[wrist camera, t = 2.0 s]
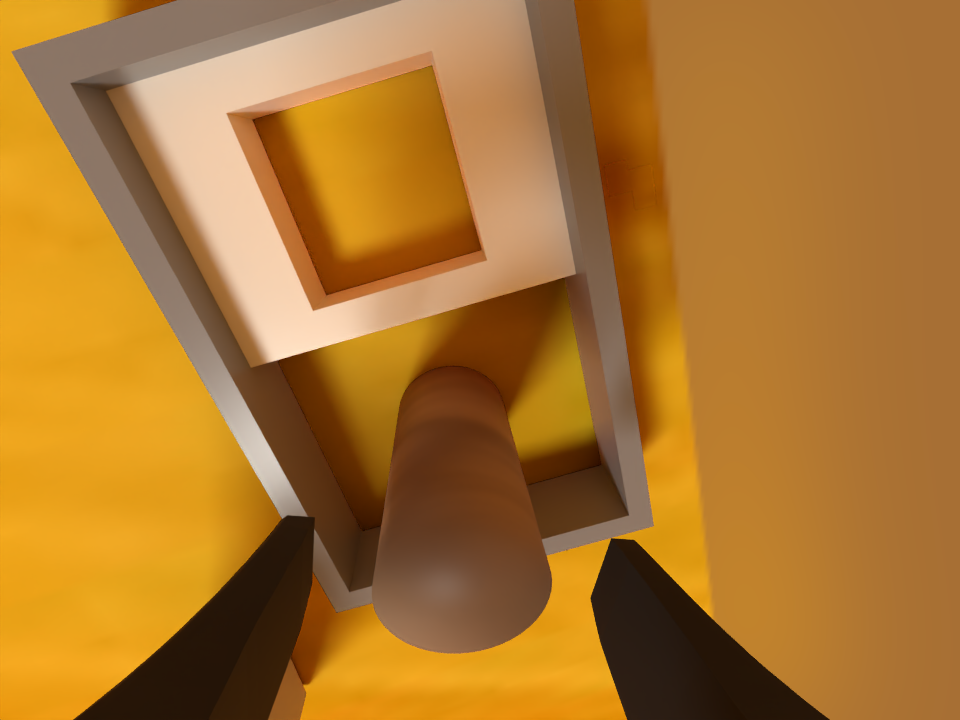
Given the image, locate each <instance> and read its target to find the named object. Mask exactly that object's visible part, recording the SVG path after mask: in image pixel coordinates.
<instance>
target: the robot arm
mask: <svg viewBox="0 0 960 720" xmlns="http://www.w3.org/2000/svg"><path fill="white" fill-rule="evenodd" d="M314 527H315V517H306V516H292V515H287V516H286V517H284V518H283V519H282V520H281V521H280V522H279V523H278V525H277V526H276V527H275V529H274V530H273V531H272V532H271V533H270V535H269V536H268V537H267V538H266V540H265V541H264V542H263V543H262V544H261V545H260V547H259V548H258V549H257V550H256V551H255V552H254V554H253V555H252V556H251V557H250V558H249V559H248V560H247V561H246V563H245V564H244V565H243V566H242V567H241V568H240V569H239V570H238V571H237V572H236V573H235V574H234V576H233V577H232V578H231V579H230V580H229V581H228V582H227V583H226V584H225V585H224V586H223V587H222V588H221V589H220V591H219V592H218V593H217V594H216V595H215V596H214V597H213V598H212V599H211V600H210V601H209V602H208V603H207V604H206V605H205V606H204V607H203V608H201V609H200V610H199V611H198V612H197V613H196V614H195V615H194V616H193V617H192V618H191V619H190V620H189V621H188V622H187V623H186V624H185V625H184V626H183V627H182V628H181V629H180V630H179V631H178V632H177V633H176V634H175V635H174V636H172V637H171V638H170V639H169V640H168V641H167V642H166V643H165V644H164V645H163V646H162V647H160V648H159V649H158V650H157V651H156V652H155V653H154V654H153V655H151V656H150V657H149V658H148V659H147V660H146V661H144V662H143V663H142V664H141V665H140V666H139V667H138V668H136V669H135V670H134V671H133V672H132V673H131V674H129V675H128V676H127V677H126V678H125V679H123V680H122V681H121V682H120V683H119V684H117V685H116V686H115V687H114V688H112V689H111V690H110V691H109V692H107V693H106V694H105V695H104V696H102V697H101V698H100V699H99V700H98V701H96V702H95V703H94V704H93V705H91V706H90V707H89V708H88V709H86V710H85V711H84V712H83V713H81V714H80V715H79V716H77V717H76V718H75V719H74V720H268V718H269V716H270V713H271V710H272V707H273V705H274V702H275V699H276V696H277V694H278V691H279V688H280V685H281V683H282V680H283V677H284V674H285V672H286V669H287V666H288V663H289V660H290V658H291V655H292V652H293V649H294V646H295V644H296V641H297V638H298V635H299V632H300V629H301V625H302V622H303V618H304V614H305V610H306V606H307V602H308V598H309V594H310V590H311V586H312V573H313V550H314ZM591 602H592V607H593V612H594V617H595V622H596V626H597V630H598V634H599V638H600V642H601V645H602V648H603V651H604V654H605V657H606V660H607V663H608V666H609V669H610V672H611V675H612V678H613V680H614V683H615V686H616V689H617V692H618V695H619V697H620V700H621V703H622V706H623V709H624V712H625V714H626V717H627V720H829V719H828V718H827V717H825V716H824V715H823V714H821V713H820V712H819V711H818V710H816V709H815V708H814V707H813V706H811V705H810V704H809V703H807V702H806V701H805V700H804V699H802V698H801V697H800V696H799V695H797V694H796V693H795V692H794V691H793V690H791V689H790V688H789V687H788V686H786V685H785V684H784V683H783V682H782V681H781V680H779V679H778V678H777V677H776V676H774V675H773V674H772V673H771V672H770V671H768V670H767V669H766V668H765V667H763V666H762V664H760V663H759V662H758V661H757V660H756V659H755V658H754V657H752V656H751V655H750V654H749V653H748V652H747V651H746V650H745V649H744V648H743V647H742V646H740V645H739V644H738V643H737V642H736V641H735V640H734V639H733V638H732V637H731V636H729V635H728V634H727V633H726V632H725V631H724V630H723V629H722V628H721V627H720V626H719V625H718V624H717V623H716V622H715V621H714V620H713V619H712V618H711V617H710V616H709V615H708V614H707V613H706V612H705V611H704V610H703V609H702V608H701V607H700V606H699V605H698V604H697V603H696V602H695V601H694V600H693V599H692V598H691V597H690V596H689V595H688V594H687V593H686V592H685V591H684V590H683V589H682V588H681V587H680V586H679V585H678V584H677V583H676V582H675V581H674V580H673V579H672V578H671V577H670V576H669V575H668V574H667V573H666V572H665V571H664V570H663V568H662V567H661V566H660V565H659V564H658V563H657V562H656V561H655V560H654V559H653V558H652V557H651V556H650V555H649V554H648V553H647V552H646V551H645V550H644V549H643V548H642V547H641V546H640V545H639V544H638V543H637V542H636V541H635V540H627V539H613V538H611V541H610V544H609V547H608V549H607V552H606V555H605V558H604V561H603V564H602V567H601V569H600V572H599V575H598V578H597V581H596V584H595V587H594V589H593V592H592V595H591Z"/></svg>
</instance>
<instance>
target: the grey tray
mask: <svg viewBox="0 0 960 720" xmlns="http://www.w3.org/2000/svg"><path fill="white" fill-rule="evenodd" d="M12 53H13V55H14V57H15V59H16V60H17V62H18V64H19V65H20V67H21V69H22V71H23V72H24V74H25V76H26V77H27V79H28V81H29V83H30V84H31V86H32V88H33V90H34V91H35V93H36V95H37V96H38V98H39V100H40V102H41V103H42V105H43V107H44V109H45V110H46V112H47V114H48V115H49V117H50V119H51V121H52V122H53V124H54V126H55V128H56V129H57V131H58V133H59V134H60V136H61V138H62V140H63V141H64V143H65V145H66V147H67V148H68V150H69V152H70V153H71V155H72V157H73V159H74V160H75V162H76V164H77V166H78V167H79V169H80V171H81V172H82V174H83V176H84V178H85V179H86V181H87V183H88V185H89V186H90V188H91V190H92V191H93V193H94V195H95V197H96V198H97V200H98V202H99V203H100V205H101V207H102V209H103V210H104V212H105V214H106V216H107V217H108V219H109V221H110V222H111V224H112V226H113V228H114V229H115V231H116V233H117V235H118V236H119V238H120V240H121V241H122V243H123V245H124V247H125V248H126V250H127V252H128V254H129V255H130V257H131V259H132V260H133V262H134V264H135V266H136V267H137V269H138V271H139V273H140V274H141V276H142V278H143V279H144V281H145V283H146V285H147V286H148V288H149V290H150V292H151V293H152V295H153V297H154V298H155V300H156V302H157V304H158V305H159V307H160V309H161V310H162V312H163V314H164V316H165V317H166V319H167V321H168V323H169V324H170V326H171V328H172V329H173V331H174V333H175V335H176V336H177V338H178V340H179V342H180V343H181V345H182V347H183V348H184V350H185V352H186V354H187V355H188V357H189V359H190V361H191V362H192V364H193V366H194V367H195V369H196V371H197V373H198V374H199V376H200V378H201V380H202V381H203V383H204V385H205V386H206V388H207V390H208V392H209V393H210V395H211V397H212V399H213V400H214V402H215V404H216V405H217V407H218V409H219V411H220V412H221V414H222V416H223V418H224V419H225V421H226V423H227V424H228V426H229V428H230V430H231V431H232V433H233V435H234V436H235V438H236V440H237V442H238V443H239V445H240V447H241V449H242V450H243V452H244V454H245V455H246V457H247V459H248V461H249V462H250V464H251V466H252V468H253V469H254V471H255V473H256V474H257V476H258V478H259V480H260V481H261V483H262V485H263V487H264V488H265V490H266V492H267V493H268V495H269V497H270V499H271V500H272V502H273V504H274V506H275V507H276V509H277V511H278V512H279V514H280V516H281V518H282V519H283V518H284V517H286V516H287V515H292V516H306V517H315V527H314V550H313V573H314V575H315V576H316V578H317V580H318V581H319V583H320V585H321V587H322V588H323V590H324V592H325V594H326V595H327V597H328V599H329V600H330V602H331V604H332V606H333V607H334V609H335V611H336V613H338V612H341V611H345V610H349V609H352V608H356V607H360V606H363V605H367V604H371V603H373V602H372V584H373V577H374V570H375V564H376V557H377V551H378V544H379V538H380V531H381V526H380V527H376V528H373V529H369V530H365V531H361V529H360V527H359V525H358V523H357V521H356V519H355V517H354V515H353V513H352V511H351V509H350V507H349V505H348V503H347V501H346V499H345V497H344V495H343V493H342V491H341V489H340V487H339V485H338V483H337V481H336V479H335V477H334V475H333V473H332V471H331V469H330V467H329V465H328V463H327V461H326V458H325V456H324V454H323V452H322V450H321V448H320V446H319V444H318V442H317V440H316V438H315V436H314V434H313V432H312V430H311V428H310V426H309V424H308V422H307V420H306V418H305V416H304V414H303V412H302V410H301V408H300V406H299V404H298V402H297V400H296V398H295V396H294V394H293V392H292V390H291V388H290V386H289V384H288V382H287V380H286V378H285V376H284V374H283V372H282V370H281V368H280V366H279V364H278V362H277V360H279V359H283V358H286V357H290V356H293V355H297V354H300V353H304V352H307V351H311V350H314V349H318V348H321V347H325V346H328V345H332V344H335V343H338V342H342V341H345V340H349V339H352V338H356V337H359V336H363V335H366V334H370V333H373V332H377V331H380V330H384V329H387V328H390V327H394V326H397V325H401V324H404V323H408V322H411V321H415V320H418V319H422V318H425V317H429V316H432V315H436V314H439V313H442V312H446V311H449V310H453V309H456V308H460V307H463V306H467V305H470V304H474V303H477V302H481V301H484V300H488V299H491V298H495V297H498V296H501V295H505V294H508V293H512V292H515V291H519V290H522V289H526V288H529V287H533V286H536V285H540V284H543V283H547V282H550V281H553V280H557V279H560V278H564V279H565V284H566V289H567V294H568V299H569V304H570V309H571V314H572V319H573V324H574V329H575V334H576V339H577V344H578V349H579V354H580V359H581V364H582V369H583V374H584V379H585V384H586V389H587V395H588V400H589V405H590V410H591V415H592V420H593V425H594V430H595V435H596V440H597V445H598V450H599V455H600V460H601V465H600V466H596V467H592V468H589V469H585V470H582V471H578V472H574V473H571V474H567V475H564V476H560V477H556V478H553V479H549V480H546V481H542V482H538V483H535V484H531V485H528V486H527V489H528V492H529V496H530V500H531V503H532V507H533V510H534V514H535V517H536V521H537V524H538V528H539V532H540V535H541V539H542V542H543V546H544V549H545V553H546V555H550V554H554V553H557V552H561V551H564V550H568V549H572V548H575V547H579V546H583V545H586V544H590V543H594V542H597V541H601V540H605V539H608V538H612V537H616V536H619V535H623V534H627V533H630V532H634V531H638V530H641V529H645V528H649V527H652V526H654V525H653V518H652V511H651V505H650V498H649V492H648V485H647V479H646V472H645V465H644V459H643V452H642V446H641V439H640V432H639V426H638V419H637V413H636V406H635V399H634V393H633V386H632V380H631V373H630V366H629V360H628V353H627V347H626V340H625V333H624V327H623V320H622V314H621V307H620V300H619V294H618V287H617V281H616V274H615V267H614V261H613V254H612V248H611V241H610V234H609V228H608V221H607V215H606V208H605V201H604V195H603V188H602V182H601V175H600V168H599V162H598V155H597V149H596V142H595V135H594V129H593V122H592V116H591V109H590V102H589V96H588V89H587V83H586V76H585V70H584V63H583V56H582V50H581V43H580V37H579V30H578V23H577V17H576V10H575V4H574V0H176V1H173V2H170V3H167V4H164V5H160V6H157V7H154V8H151V9H147V10H144V11H141V12H138V13H135V14H131V15H128V16H125V17H122V18H118V19H115V20H112V21H109V22H106V23H102V24H99V25H96V26H93V27H89V28H86V29H83V30H80V31H77V32H73V33H70V34H67V35H64V36H60V37H57V38H54V39H51V40H47V41H44V42H41V43H38V44H35V45H31V46H28V47H25V48H22V49H18V50H15V51H12ZM431 65H433V69H434V73H435V77H436V80H437V84H438V88H439V92H440V95H441V99H442V103H443V107H444V110H445V114H446V118H447V122H448V125H449V129H450V133H451V137H452V140H453V144H454V148H455V152H456V155H457V159H458V163H459V167H460V170H461V174H462V178H463V182H464V185H465V189H466V193H467V197H468V200H469V204H470V208H471V212H472V216H473V219H474V223H475V227H476V231H477V234H478V238H479V242H480V246H481V249H482V250H480V251H477V252H474V253H470V254H467V255H463V256H460V257H456V258H453V259H449V260H446V261H443V262H439V263H436V264H432V265H429V266H425V267H422V268H419V269H415V270H412V271H408V272H405V273H401V274H398V275H395V276H391V277H388V278H384V279H381V280H377V281H374V282H370V283H367V284H364V285H360V286H357V287H353V288H350V289H346V290H343V291H340V292H336V293H333V294H329V295H326V294H325V291H324V289H323V287H322V284H321V282H320V280H319V277H318V275H317V272H316V270H315V268H314V265H313V263H312V261H311V258H310V256H309V253H308V251H307V249H306V246H305V244H304V241H303V239H302V237H301V234H300V232H299V230H298V227H297V225H296V222H295V220H294V218H293V215H292V213H291V211H290V208H289V206H288V203H287V201H286V199H285V196H284V194H283V192H282V189H281V187H280V184H279V182H278V180H277V177H276V175H275V172H274V170H273V168H272V165H271V163H270V161H269V158H268V156H267V153H266V151H265V149H264V146H263V144H262V142H261V139H260V137H259V134H258V132H257V130H256V127H255V125H254V123H253V119H256V118H259V117H262V116H266V115H269V114H272V113H276V112H279V111H282V110H286V109H289V108H292V107H296V106H299V105H302V104H305V103H309V102H312V101H315V100H319V99H322V98H325V97H329V96H332V95H335V94H339V93H342V92H345V91H349V90H352V89H355V88H358V87H362V86H365V85H368V84H372V83H375V82H378V81H382V80H385V79H388V78H392V77H395V76H398V75H401V74H405V73H408V72H411V71H415V70H418V69H421V68H425V67H428V66H431Z"/></svg>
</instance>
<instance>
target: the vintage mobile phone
mask: <svg viewBox="0 0 960 720" xmlns="http://www.w3.org/2000/svg"><path fill="white" fill-rule="evenodd" d="M305 697H306V692H305V689H304V687H303V684H302V682H301V680H300V678H299V675H298V673H297V671H296V669H295V666H294V664H293V662H292V660H291V658H290V660H289V663H288V666H287V669H286V672H285V674H284V677H283V680H282V683H281V685H280V688H279V691H278V694H277V696H276V699H275V702H274V705H273V707H272V710H271V713H270V716H269V718H268V720H300V717H301V713H302V709H303V705H304V701H305Z"/></svg>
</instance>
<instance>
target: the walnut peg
mask: <svg viewBox="0 0 960 720" xmlns="http://www.w3.org/2000/svg"><path fill="white" fill-rule="evenodd" d="M551 587H552V577H551V571H550V567H549V564H548V560H547V556H546V553H545V549H544V546H543V542H542V539H541V535H540V532H539V528H538V524H537V521H536V517H535V514H534V510H533V507H532V503H531V500H530V496H529V492H528V489H527V485H526V482H525V478H524V475H523V471H522V468H521V464H520V460H519V457H518V453H517V450H516V446H515V443H514V439H513V436H512V432H511V428H510V425H509V421H508V418H507V414H506V411H505V407H504V404H503V400H502V397H501V395H500V392H499V391H498V389H497V387H496V386H495V385H494V384H493V382H492V381H491V380H489V379H488V378H487V377H486V376H484V375H483V374H481V373H479V372H477V371H475V370H472V369H469V368H466V367H460V366H446V367H440V368H436V369H433V370H430V371H428V372H426V373H424V374H422V375H421V376H419V377H418V378H417V379H415V380H414V381H413V382H412V383H411V384H410V385H409V387H408V388H407V389H406V391H405V393H404V395H403V397H402V399H401V402H400V407H399V413H398V420H397V426H396V433H395V439H394V446H393V452H392V459H391V466H390V472H389V479H388V485H387V492H386V498H385V505H384V511H383V518H382V525H381V531H380V538H379V544H378V551H377V557H376V564H375V570H374V577H373V584H372V602H373V606H374V609H375V612H376V614H377V616H378V618H379V620H380V621H381V622H382V624H383V625H384V626H385V627H386V628H387V629H388V630H389V631H390V632H391V633H392V634H393V635H395V636H396V637H398V638H399V639H401V640H402V641H404V642H406V643H408V644H410V645H413V646H415V647H417V648H421V649H424V650H428V651H433V652H439V653H469V652H475V651H481V650H485V649H488V648H492V647H495V646H497V645H500V644H503V643H505V642H507V641H509V640H511V639H513V638H514V637H516V636H518V635H519V634H521V633H522V632H523V631H525V630H526V629H527V628H528V627H530V626H531V625H532V624H533V623H534V622H535V621H536V619H537V618H538V617H539V616H540V614H541V613H542V611H543V610H544V608H545V607H546V604H547V602H548V600H549V597H550V593H551Z"/></svg>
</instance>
